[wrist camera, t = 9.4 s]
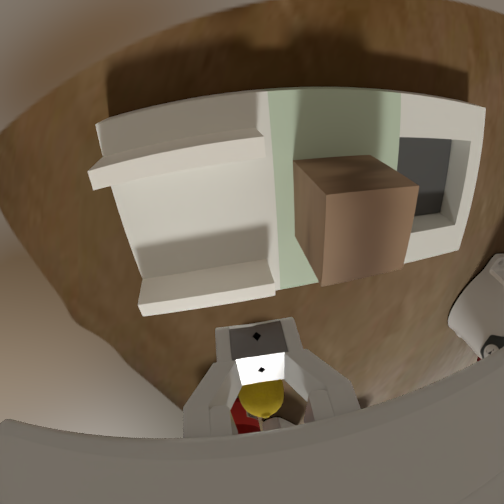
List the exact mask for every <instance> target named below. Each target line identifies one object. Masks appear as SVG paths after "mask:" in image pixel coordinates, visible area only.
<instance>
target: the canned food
mask: <svg viewBox="0 0 504 504" xmlns="http://www.w3.org/2000/svg"><path fill="white" fill-rule="evenodd" d="M230 411H231V414H232V417H233V420H234V422H235V425H236V428H237V430H238V434H244V433H252V432H260V427H259V422H258V417H257V416H254V415H252V414H250V413H248V412H247V411H246V410H245V409H244V407H243V406H242V404H241V402H240V399H239V398H236V400H235V402H234V404H233V406H232V408H231V410H230Z"/></svg>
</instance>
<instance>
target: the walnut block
mask: <svg viewBox="0 0 504 504" xmlns="http://www.w3.org/2000/svg"><path fill="white" fill-rule="evenodd" d="M293 182H294V219H295V237H296V239H297V241H298V243H299V245H300V247H301V249H302V250H303V252H304V254H305V256H306V258H307V260H308V262H309V264H310V266H311V268H312V270H313V272H314V273H315V275H316V277H317V279H318V281H319V283H320V285H321V287H323V286H328V285H332V284H337V283H342V282H347V281H351V280H356V279H360V278H365V277H369V276H374V275H378V274H383V273H387V272H391V271H395V270H399V269H402V268H403V264H404V260H405V256H406V252H407V248H408V243H409V239H410V234H411V229H412V224H413V219H414V214H415V209H416V203H417V197H418V191H419V185H417V184H416V183H414V182H413V181H411V180H410V179H408V178H407V177H405V176H404V175H402V174H401V173H399V172H397V171H396V170H394V169H393V168H391V167H390V166H388V165H386V164H385V163H383V162H381V161H380V160H378V159H376V158H375V157H373V156H371V155H356V156H339V157H325V158H313V159H302V160H293Z"/></svg>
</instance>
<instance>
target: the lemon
mask: <svg viewBox="0 0 504 504" xmlns="http://www.w3.org/2000/svg"><path fill="white" fill-rule="evenodd" d="M238 396H239V399H240V402H241V404H242V406H243V407H244V409H245V410H246V411H247V412H248V413H250V414H252V415H254V416H257V417H263V418H269V417H270V415H272V414H274V413H275V412H277V410H278V409H279V408H280V407H281V405H282V403H283V399H284V388H283V383H282V380H281V379H279V380H272V381H265V382H258V383H253V384H247V385H242V388H241V390H240V392H239V394H238Z"/></svg>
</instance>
